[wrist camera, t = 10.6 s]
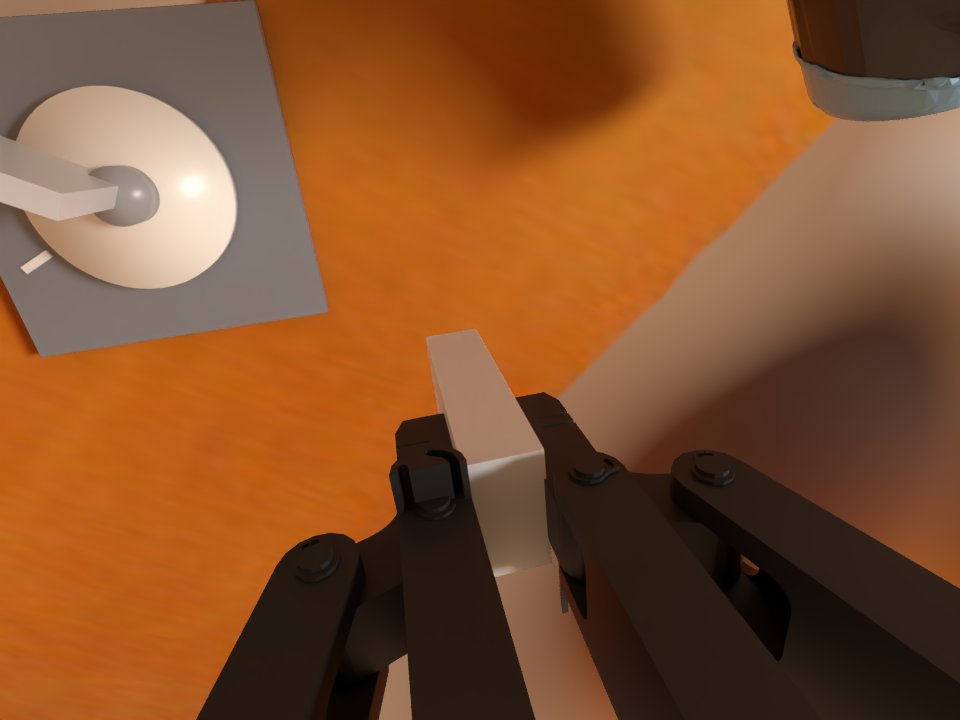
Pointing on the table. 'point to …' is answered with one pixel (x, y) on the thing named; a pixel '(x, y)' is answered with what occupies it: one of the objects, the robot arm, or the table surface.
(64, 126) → the dial
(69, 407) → the table surface
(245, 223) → the dial plate
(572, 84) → the table surface
